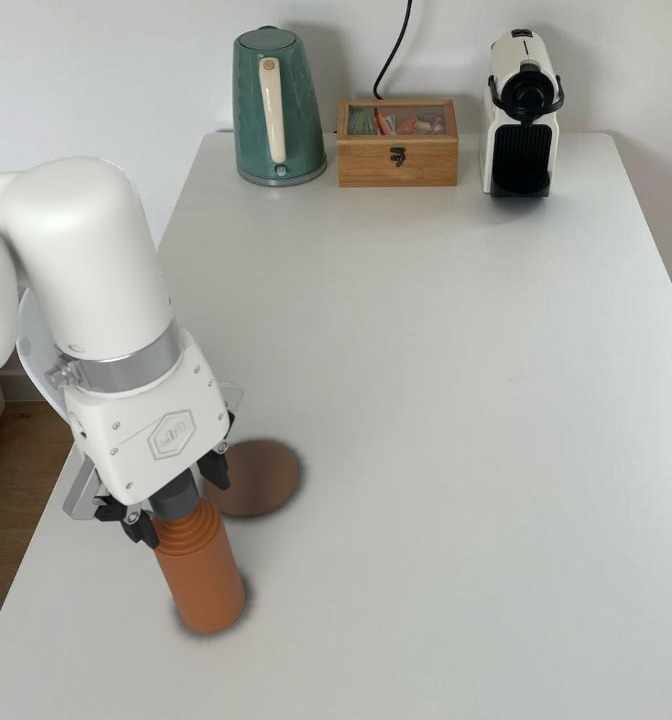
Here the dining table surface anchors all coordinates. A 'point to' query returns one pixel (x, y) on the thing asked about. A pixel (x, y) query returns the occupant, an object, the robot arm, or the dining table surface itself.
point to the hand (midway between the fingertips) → (181, 507)
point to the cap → (176, 497)
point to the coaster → (255, 479)
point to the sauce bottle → (200, 568)
